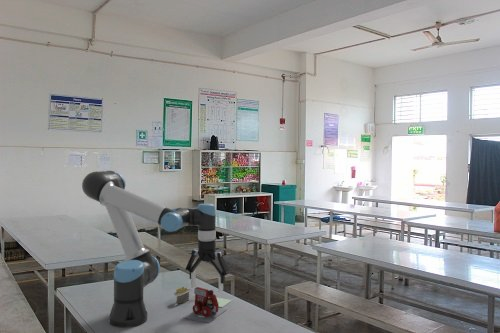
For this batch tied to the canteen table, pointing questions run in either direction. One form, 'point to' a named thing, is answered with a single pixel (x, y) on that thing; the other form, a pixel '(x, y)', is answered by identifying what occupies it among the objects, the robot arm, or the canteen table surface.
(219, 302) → the pad
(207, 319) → the tile
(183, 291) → the platform
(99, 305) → the canteen table surface
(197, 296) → the toy fire truck
